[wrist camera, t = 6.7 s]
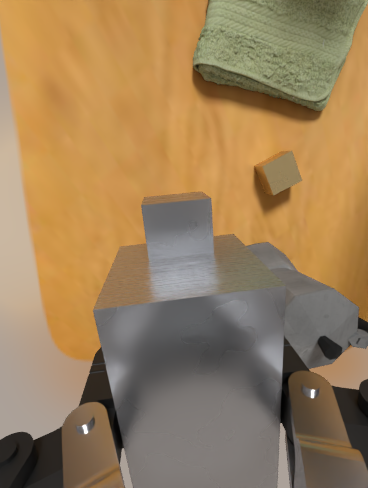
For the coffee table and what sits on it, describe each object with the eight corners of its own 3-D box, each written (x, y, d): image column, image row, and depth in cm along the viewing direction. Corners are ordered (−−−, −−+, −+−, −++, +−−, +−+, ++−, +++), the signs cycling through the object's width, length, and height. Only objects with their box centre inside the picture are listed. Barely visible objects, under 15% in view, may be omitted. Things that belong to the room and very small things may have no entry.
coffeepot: (207, 290, 40) (247, 389, 22) (224, 232, 37) (284, 293, 20) (298, 306, 42) (395, 404, 25) (320, 252, 40) (445, 321, 22)
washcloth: (319, 116, 34) (335, 112, 31) (188, 79, 31) (191, 70, 28) (359, -5, 30) (382, -23, 27) (215, -60, 27) (222, -87, 24)
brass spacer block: (280, 151, 34) (291, 150, 32) (290, 178, 36) (302, 180, 33) (253, 165, 35) (262, 166, 32) (264, 192, 36) (273, 195, 33)
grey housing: (232, 188, 11) (289, 210, 6) (238, 416, 15) (275, 534, 10) (112, 200, 11) (75, 233, 6) (151, 429, 15) (149, 557, 10)
